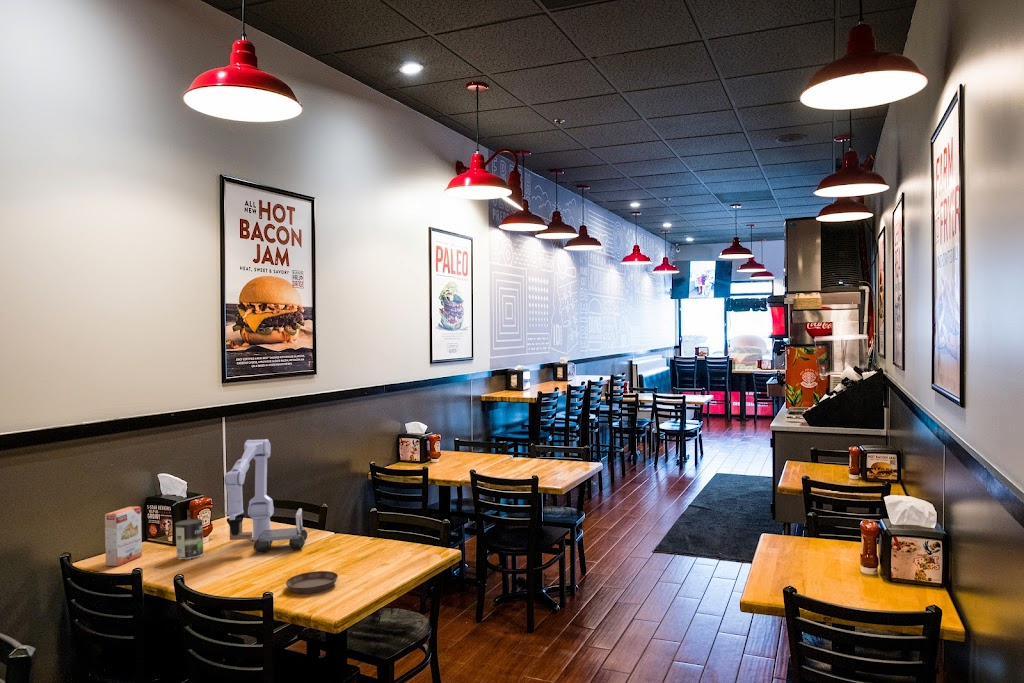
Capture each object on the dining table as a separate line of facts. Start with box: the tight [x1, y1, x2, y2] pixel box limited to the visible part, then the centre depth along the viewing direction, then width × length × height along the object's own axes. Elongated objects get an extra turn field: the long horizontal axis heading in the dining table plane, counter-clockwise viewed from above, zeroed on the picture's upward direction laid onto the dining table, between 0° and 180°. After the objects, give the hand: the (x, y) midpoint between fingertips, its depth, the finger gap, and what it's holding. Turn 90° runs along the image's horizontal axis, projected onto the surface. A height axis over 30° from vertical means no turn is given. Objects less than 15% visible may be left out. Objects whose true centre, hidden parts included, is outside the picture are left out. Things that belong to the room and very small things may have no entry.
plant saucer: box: [285, 570, 339, 594], centre depth 250 cm, size 18×18×3 cm
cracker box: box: [104, 506, 143, 567], centre depth 290 cm, size 14×6×21 cm, turn 168°
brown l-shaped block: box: [229, 521, 253, 541], centre depth 294 cm, size 4×8×6 cm, turn 100°
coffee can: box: [174, 518, 205, 560], centre depth 294 cm, size 10×10×14 cm
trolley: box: [253, 507, 308, 554], centre depth 302 cm, size 13×20×15 cm, turn 100°
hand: (236, 533), depth 293 cm, fingers closed on brown l-shaped block, 4 cm apart
